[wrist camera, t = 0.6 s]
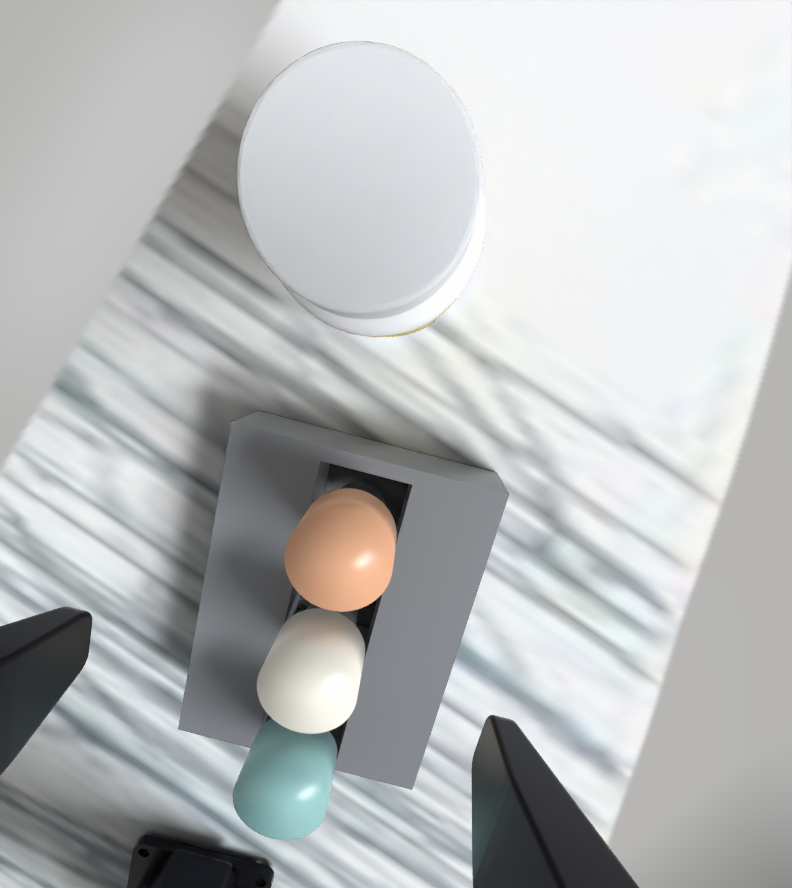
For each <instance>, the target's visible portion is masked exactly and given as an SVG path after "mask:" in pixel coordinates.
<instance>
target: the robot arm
mask: <svg viewBox="0 0 792 888" xmlns="http://www.w3.org/2000/svg"><path fill="white" fill-rule="evenodd" d="M91 627H92V616H91V614H90V613H89V612H87V611H84V610H80V609H76V608H72V607H61V608H58V609H54V610H51V611H48V612H45V613H42V614H39V615H35V616H32V617H29V618H26V619H23V620H20V621H16V622H13V623H10V624H7V625H4V626H1V627H0V775H1V774H2V773H3V772H4V770H5V769H6V768H7V767H8V766H9V765H10V763H11V762H12V761H13V760H14V758H15V757H16V756H17V755H18V753H19V752H20V751H21V750H22V748H23V747H24V746H25V744H26V743H27V742H28V740H29V739H30V738H31V736H32V735H33V734H34V732H35V731H36V730H37V728H38V727H39V726H40V724H41V723H42V722H43V720H44V719H45V718H46V716H47V715H48V714H49V712H50V711H51V710H52V709H53V707H54V706H55V705H56V703H57V702H58V701H59V699H60V698H61V697H62V695H63V694H64V693H65V691H66V690H67V689H68V687H69V686H70V685H71V683H72V682H73V681H74V679H75V678H76V677H77V675H78V674H79V673H80V671H81V670H82V668H83V667H84V665H85V663H86V660H87V657H88V653H89V645H90V636H91ZM472 866H473V888H639V887H638V885H637V884H636V883H635V881H634V880H633V879H632V877H631V876H630V875H629V873H628V872H627V871H626V870H625V868H624V867H623V866H622V864H621V863H620V861H619V860H618V859H617V857H616V856H615V855H614V854H613V852H612V851H611V849H610V848H609V847H608V845H607V844H606V843H605V841H604V840H603V839H602V837H601V836H600V835H599V833H598V832H597V831H596V829H595V828H594V827H593V825H592V824H591V823H590V821H589V820H588V819H587V817H586V816H585V815H584V813H583V812H582V811H581V809H580V808H579V807H578V805H577V804H576V803H575V801H574V800H573V799H572V797H571V796H570V795H569V793H568V792H567V791H566V789H565V788H564V787H563V785H562V784H561V783H560V781H559V780H558V779H557V777H556V776H555V775H554V773H553V772H552V771H551V769H550V768H549V767H548V765H547V764H546V763H545V761H544V760H543V759H542V757H541V756H540V755H539V753H538V752H537V751H536V749H535V748H534V747H533V745H532V744H531V743H530V741H529V740H528V739H527V737H526V736H525V735H524V733H523V732H522V731H521V729H520V728H519V727H518V725H517V724H516V723H515V722H514V721H513V720H511V719H507V718H503V717H499V716H495V715H491V716H489V717H488V718H487V719H486V721H485V724H484V727H483V729H482V732H481V735H480V738H479V741H478V744H477V747H476V749H475V752H474V756H473V761H472ZM273 878H274V872H273V870H272V869H271V868H270V867H269V866H266V865H263V864H259V863H255V862H252V861H248V860H244V859H240V858H236V857H232V856H228V855H224V854H221V853H217V852H213V851H209V850H205V849H201V848H197V847H193V846H189V845H186V844H182V843H178V842H174V841H170V840H166V839H162V838H158V837H155V836H151V835H144V836H141V837H140V838H139V840H138V842H137V843H136V845H135V847H134V849H133V854H132V860H131V867H130V873H129V879H128V886H127V888H271V886H272V882H273Z"/></svg>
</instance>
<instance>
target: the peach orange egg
mask: <svg viewBox="0 0 792 888" xmlns="http://www.w3.org/2000/svg"><path fill="white" fill-rule="evenodd" d="M396 540H397V530H396V525H395V521H394V518H393V516H392V514H391V512H390V511H389V509H388V508H387V507H386V506H385V501H384V498H383V496H382V494H381V493H380V492H379V491H378V490H377V489H376V488H375V487H373V486H372V485H370V484H367V483H364V482H353V483H349V484H347V485H345V486H343V487H342V488H341V489H336V490H333V491H330V492H327V493H325V494H323V495H322V496H320V497H319V498H318V499H317V500H315V501H314V502H313V503H312V505H311V506H310V507H309V509H308V510H307V512H306V513H305V515H304V516H303V518H302V519H301V521H300V522H299V524H298V525H297V527H296V528H295V530H294V531H293V533H292V534H291V536H290V537H289V540H288V542H287V545H286V548H285V555H284V562H285V569H286V572H287V575H288V578H289V580H290V582H291V584H292V585H293V587H294V588H295V589H296V591H297V592H298V593H299V594H300V595H301V596H302V597H303V598H305V599H306V600H307V601H309V602H310V603H312V604H313V605H316V606H318V607H320V608H323V609H326V610H331V611H339V612H344V611H353V610H357V609H360V608H363V607H365V606H367V605H369V604H371V603H372V602H374V601H375V600H376V599H377V598H379V597H380V595H381V594H382V593H383V592H384V591H385V589H386V588H387V586H388V584H389V582H390V579H391V576H392V571H393V564H394V556H395V548H396Z"/></svg>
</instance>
